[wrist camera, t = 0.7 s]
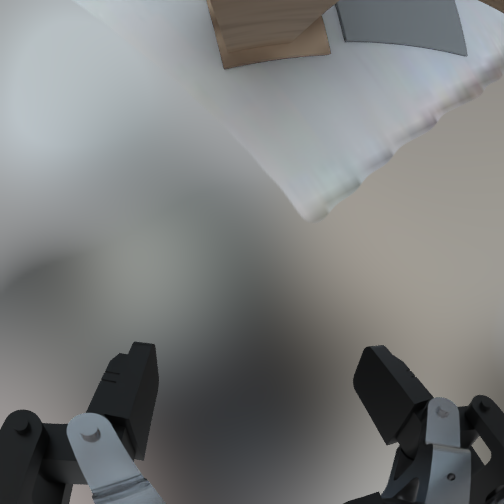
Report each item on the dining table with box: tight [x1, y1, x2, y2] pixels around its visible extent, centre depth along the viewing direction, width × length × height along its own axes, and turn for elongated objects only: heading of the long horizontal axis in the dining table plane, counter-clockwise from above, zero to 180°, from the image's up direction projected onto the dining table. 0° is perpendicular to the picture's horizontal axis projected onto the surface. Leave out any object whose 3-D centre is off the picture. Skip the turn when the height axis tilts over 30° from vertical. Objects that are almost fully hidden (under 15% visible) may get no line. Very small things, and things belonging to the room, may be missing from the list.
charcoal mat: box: [335, 0, 468, 56], centre depth 22 cm, size 14×24×1 cm, turn 102°
